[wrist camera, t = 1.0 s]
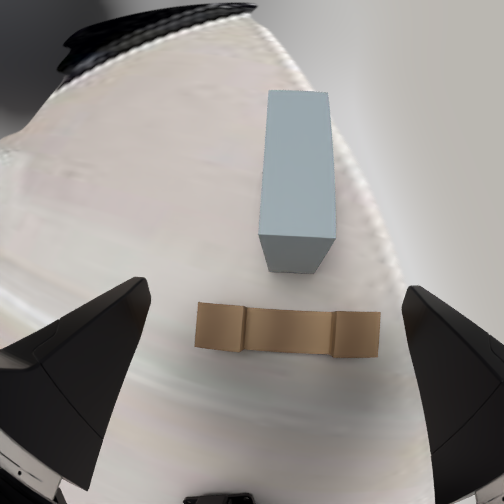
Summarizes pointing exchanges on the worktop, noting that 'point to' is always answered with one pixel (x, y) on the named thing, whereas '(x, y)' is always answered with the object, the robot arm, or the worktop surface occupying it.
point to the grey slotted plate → (297, 182)
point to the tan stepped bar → (287, 331)
